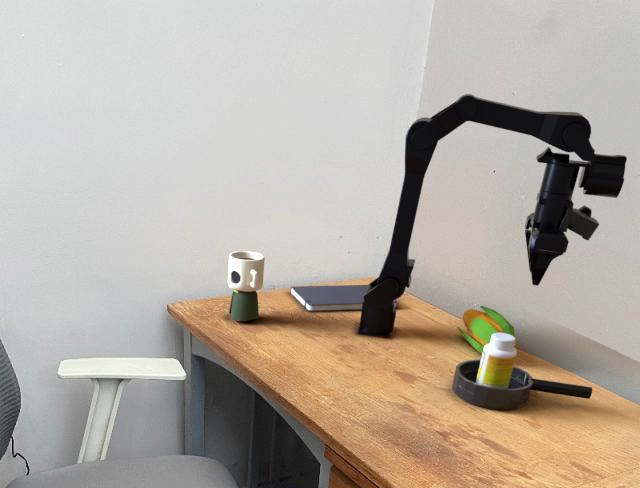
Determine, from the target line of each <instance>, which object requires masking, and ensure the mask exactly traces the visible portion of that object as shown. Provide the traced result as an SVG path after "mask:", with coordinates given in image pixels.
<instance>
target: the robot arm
mask: <svg viewBox="0 0 640 488" xmlns="http://www.w3.org/2000/svg"><path fill="white" fill-rule="evenodd" d="M466 122H472V123H476V124H481V125H485V126H490V127H492V128H496V129H502V130H506V131H511V132H515V133H519V134H523V135H527V136H531V137H533V138H536V139H537V140H540V141H541V142H544V143H546V144H547V145H548V146H547V147H546V148H545V150H544V151H542V152H541V153H540V154H538V155H537V156H535V157H536V162H537V163H539V164H545V168H544V172H543V177H542V180H541V183H540V188H539V192H537V195H536V198H535V199H536V204H535V208H534V212H532V213H530V214H529V215H528V216H527V217H526V219H525V224H524V237H525V243H526V244H525V245H526V251H527V252H526V253H527V260H528V269H529V272H530V274H531V275H530V276H531V284H532V285H533V286H536V287H537V286H539V285H540V283H541V282H542V280H543V278H544V276H545V274H546V272H547V271H548V269H549V267H550V265H551V263H552V262H553V260H555V259H556V258H558V257H561V256H563V255H564V254H565V253H567V250H568V246H569V238H568V237H567V235H566V233H567V232H568V230H569V231H571V232H572V233H575V234H576V235H578V236H580V237H581V238H582V239H583V240H584V241H589V240H591V238H592V236H593V235H594V233H595V232H596V230H597V229H598V227H599V226H600V222H598V220H597V219H596V218H595V217H593V216H592V212H593V211H592V208H590V207H588V206H586V205H582V206H581V207H580V208H576V207H575V208H574V205H575V204H574V201H573V195H574V191H575V188H576V185H577V180H578V189H582V195H585V196H593V197H594V196H595V197H603V198H612V199H617V198H618V197H619V195H620V193H621V191H622V188H623V185H624V183H625V178H624V177H625V173H626V163H627V160H628V158H627V156H626V155H623V154H613V155H611V154H603V153H602V154H601V153H595V152H596V149H595V148H594V147H593V145H592V143H591V141H590V139H591V134H592V126H591V125H592V124H591V123H590V121H589V119H587V118H586V117H585V116H584V115H583V114H582V113H580V112H576V111H537V110H533V109H529V108H524V107H521V106H517V105H511V104H507V103H503V102H498V101H495V100H490V99H486V98H482V97H478V96H475V95H474V94H472V93H466V94H463V95H461V96H460V97H458V99H457V100H456V101H454V102H453V103H451V104H449V105H448V106H446V107H444V108H443V109H441V110H440V111H438V112H437V113H435V114H434V115H432V116H431V117H428V116H427V117H425V116H424V117H420V118H417V119H416V120H415V121H413V122H412V124H411V125H410V127H409V128H408V130H407V132H406V134H405V141H404V176H403V181H402V186H401V191H400V195H399V201H398V204H397V205H398V206H397V210H396V216H395V219H394V225H393V231H392V236H391V240H390V244H389V245H390V246H389V250H388V251H387V255H386V257H385V259H384V262H383V265H382V268H381V270H380V272H379V275H378V277H376V278H375V279H374V280H372V281H371V282H369V283H368V284H367V285H368V287H367V290H366V292H365V295H364V300H363V305H362V310H361V312H360V320H359V326H358V329H357V332H356V333H357V334H359V335H365V336H366V335H367V336H373V337H379V338H390V335H391V334H392V333H393V332H394V328H395V323H396V315H397V311H398V310H397V308H396V309H394V305H395V301H393V300H398V299H399V298H400V297H402V296H403V295H404V293H405V291H406V288H407V289H409V288H410V286H411V282H412V278H413V277H412V273H413V270H414V267H415V263H416V259H415V258H410V245H411V240H412V235H413V232H414V226H415V222H416V218H417V213H418V208H419V204H420V199H421V195H422V189H423V185H424V180H425V177H426V173H427V171H428V168H429V166H430V163H431V161H432V159H433V156H434V154H435V151H436V149H437V146H438V142H439V141H441V140H442V139H443V138H445V137H447V136H448V135H449V134H451V133H452V132H453V131H455V130H457V128H459V127H460V126H462V125H463V124H465V123H466ZM549 145H550V146H551V147H554V148H556V149H559V150H561V151H563V152H565V153H560V152H553V151H552V149H551V147H550V146H549ZM569 153H574V154H576V156H577V157H579V158H580V160H582V161H580V160H574V159H570V157H571V156H570V154H569ZM580 168H581V171H580ZM579 173H580V175H579ZM578 176H579V179H578Z"/></svg>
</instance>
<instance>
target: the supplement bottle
mask: <svg viewBox="0 0 640 488" xmlns="http://www.w3.org/2000/svg"><path fill="white" fill-rule="evenodd" d="M515 339H516V336H515V337H514V336H512V335H510V334H506V333H494V334H492V336H491V340H490V343H489V344H487V345H485V346H484V349H483V353H482V354H481V358H480V360H481V362H480V366H479V370H478V375H477V379H476V383H477V384H480V385H484V386H487V387H493V388H499V389H508V386H509V382H510V378H511V374H512V370H513V366H515V362H516V358H517V354H518V351H517V349H516V347H515V348H514V343H515Z"/></svg>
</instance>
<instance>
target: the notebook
mask: <svg viewBox="0 0 640 488" xmlns="http://www.w3.org/2000/svg"><path fill="white" fill-rule="evenodd" d="M368 285H369V284H344V285H342V284H340V285H338V284H337V285H305V286H290V290H289V291H290V292H289V294H290V295H291V296H292V298H294V299H295V300H296V301H297V302H298V303H299V304H300V305H301V306H302V307H303V308H304V309H305V310H306V311H308V312H340V311H362V305H363V300H364V295H365V292H366V290H367V287H368ZM393 301H395V305H394V309H396V310H397V303H398V299H395V300H393Z"/></svg>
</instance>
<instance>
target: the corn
mask: <svg viewBox="0 0 640 488" xmlns="http://www.w3.org/2000/svg"><path fill="white" fill-rule="evenodd" d="M480 309H481V310H477V309H474V308H469V309H467V310H464V312H463V315H462V317H461V318H462V320H463V324H464V326H465V328H466V330H467V331H468V333H469V334H470V335H468V334H467V333H466V332H465V331H463V330H462V329H461V328H460V326H458V325H457V327H456V328H457V330H458V331H459V333H460V334H461V336H462V337H463V338H464V339H465V340H466V341H467V342H468V343H469V344H470V345H471V346H472V347H473V348H474V349H475V350H476V351H477V352H478V353H479V354H481V355H482V353H483V349H484V346H485V345H487V344H489V343H490V340H491V336H492V334H494V333H506V334H510V335H512V336H514V337H515V343H514V348H515V349H516V347H517V341H516V339H517V338H516V332H515V327H514V326H513V325H512V324H511V322H509V321H508V319H506V317H505V316H504V315H502V314H501V313H499V312H498V311H496V310H495V309H492V308H490V307H487V306H484V305H480ZM482 310H483V311H482Z"/></svg>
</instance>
